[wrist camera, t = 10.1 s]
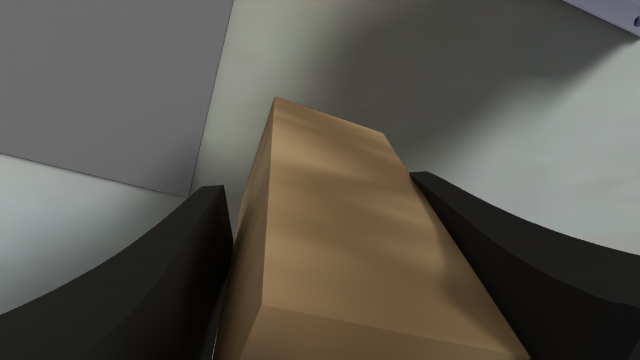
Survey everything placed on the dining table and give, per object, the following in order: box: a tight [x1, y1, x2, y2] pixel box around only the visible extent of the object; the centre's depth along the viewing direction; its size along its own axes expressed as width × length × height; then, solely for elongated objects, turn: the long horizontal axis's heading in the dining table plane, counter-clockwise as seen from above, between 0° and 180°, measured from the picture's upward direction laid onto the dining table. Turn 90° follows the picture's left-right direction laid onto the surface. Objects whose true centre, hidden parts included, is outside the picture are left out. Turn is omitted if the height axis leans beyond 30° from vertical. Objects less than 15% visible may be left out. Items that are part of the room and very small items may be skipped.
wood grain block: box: [213, 97, 531, 360], centre depth 9 cm, size 4×4×10 cm
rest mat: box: [0, 0, 234, 198], centre depth 18 cm, size 10×12×1 cm
